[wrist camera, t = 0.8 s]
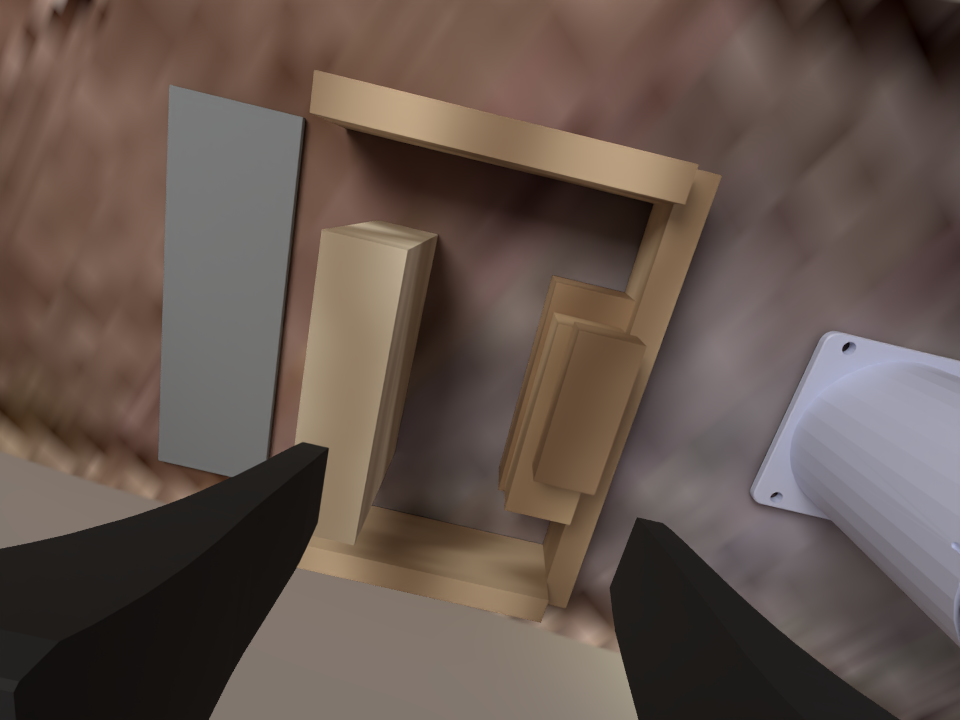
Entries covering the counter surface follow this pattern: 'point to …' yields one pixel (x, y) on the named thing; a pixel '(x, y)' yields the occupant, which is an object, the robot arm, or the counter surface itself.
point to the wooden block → (361, 361)
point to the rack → (655, 287)
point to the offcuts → (570, 400)
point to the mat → (224, 277)
